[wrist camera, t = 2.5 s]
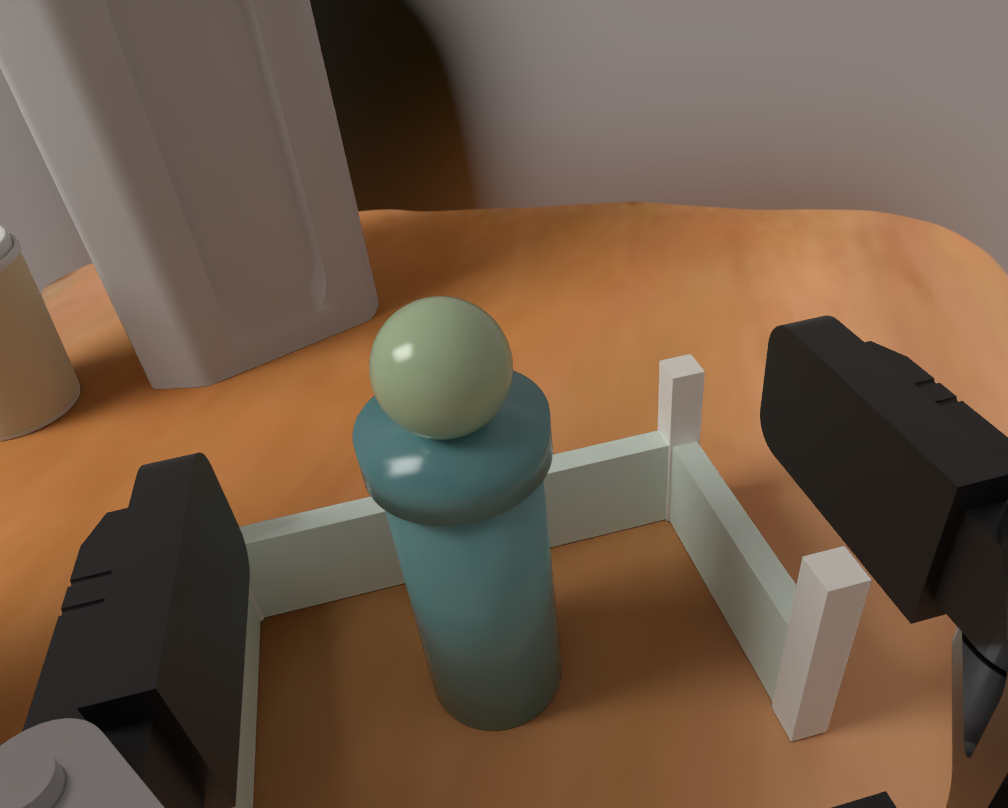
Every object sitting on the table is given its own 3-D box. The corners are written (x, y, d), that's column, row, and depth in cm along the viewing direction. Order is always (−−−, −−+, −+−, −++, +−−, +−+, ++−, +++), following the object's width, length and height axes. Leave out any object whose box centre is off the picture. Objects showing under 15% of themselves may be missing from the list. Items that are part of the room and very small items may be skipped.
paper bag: (349, 380, 52) (214, -108, 35) (146, 389, 54) (-76, -73, 37) (398, 254, 67) (320, -130, 50) (239, 264, 69) (111, -104, 52)
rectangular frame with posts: (826, 731, 29) (871, 579, 24) (210, 908, 26) (102, 782, 21) (682, 495, 40) (690, 354, 35) (234, 603, 37) (166, 468, 32)
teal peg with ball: (395, 672, 33) (279, 316, 22) (501, 586, 36) (445, 238, 25) (491, 773, 29) (408, 400, 18) (601, 666, 32) (586, 295, 21)
